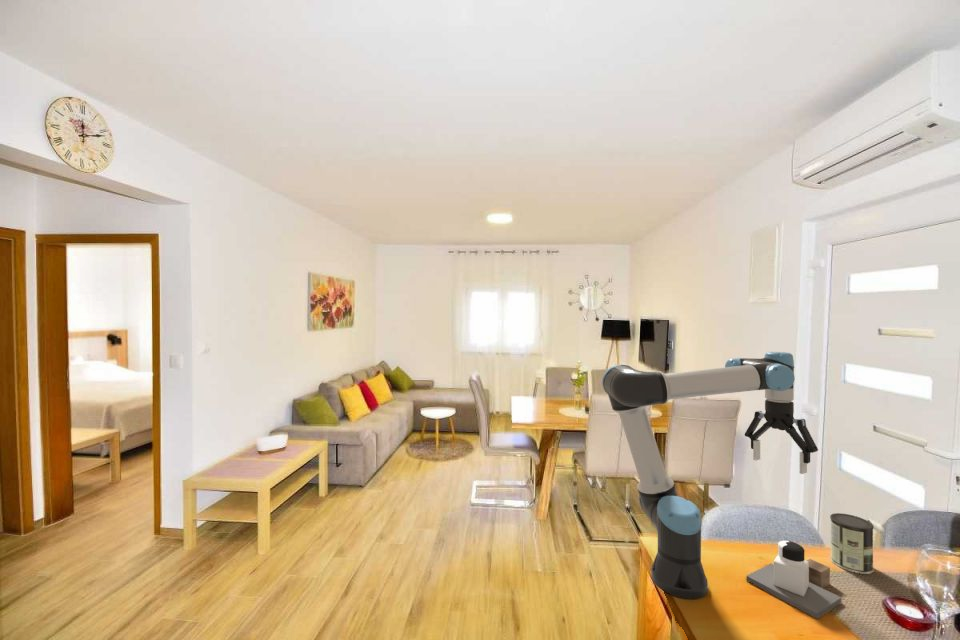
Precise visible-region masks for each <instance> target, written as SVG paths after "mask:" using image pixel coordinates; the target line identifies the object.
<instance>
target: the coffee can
mask: <svg viewBox="0 0 960 640" xmlns="http://www.w3.org/2000/svg"><path fill="white" fill-rule="evenodd" d="M829 517H830V560H831V562H832V563H833V564H834V565H836V566H837V567H839V568H841V569H843V570H845V571H848V572H851V573H854V572H855V574H859V573H860V574H859V575H871V574H872V573H874V528H875V527H874V524H873V523H872V522H870V521H869V520H867V519H864V518H861V517H859V516H857V515H851V514H848V513H839V512H838V513H832V514H830V515H829Z"/></svg>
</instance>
